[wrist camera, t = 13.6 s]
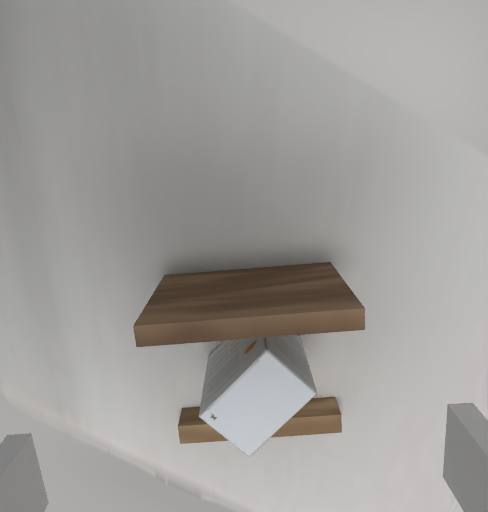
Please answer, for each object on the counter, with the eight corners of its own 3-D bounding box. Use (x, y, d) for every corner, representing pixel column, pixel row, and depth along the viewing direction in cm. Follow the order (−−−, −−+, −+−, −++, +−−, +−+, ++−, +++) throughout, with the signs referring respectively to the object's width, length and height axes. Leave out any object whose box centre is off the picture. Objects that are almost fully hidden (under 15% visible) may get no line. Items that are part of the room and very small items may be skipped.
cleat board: (164, 275, 41) (133, 325, 30) (330, 262, 41) (364, 308, 29) (184, 424, 46) (164, 520, 34) (335, 413, 45) (367, 506, 34)
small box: (247, 388, 44) (248, 460, 34) (207, 355, 44) (195, 418, 33) (302, 336, 43) (320, 395, 33) (261, 300, 42) (267, 349, 32)
